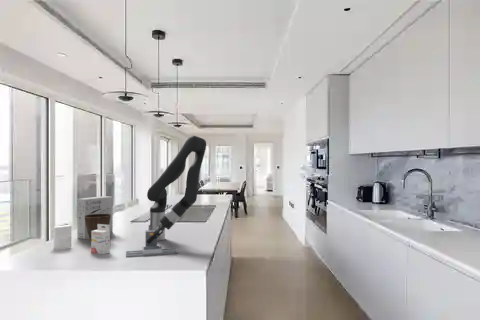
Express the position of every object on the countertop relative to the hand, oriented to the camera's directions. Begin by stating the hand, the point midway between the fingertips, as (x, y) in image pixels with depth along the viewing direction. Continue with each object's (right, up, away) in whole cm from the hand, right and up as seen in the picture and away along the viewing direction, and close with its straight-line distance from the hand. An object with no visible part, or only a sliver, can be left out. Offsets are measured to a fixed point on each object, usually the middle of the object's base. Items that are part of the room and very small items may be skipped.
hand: (147, 241), depth 194 cm
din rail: (+5, -4, -9) cm, 11 cm away
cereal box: (-44, -5, +37) cm, 58 cm away
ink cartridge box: (-23, -4, -7) cm, 25 cm away
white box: (-49, -4, +4) cm, 49 cm away
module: (+2, -4, +1) cm, 5 cm away
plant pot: (-35, -5, +18) cm, 40 cm away
